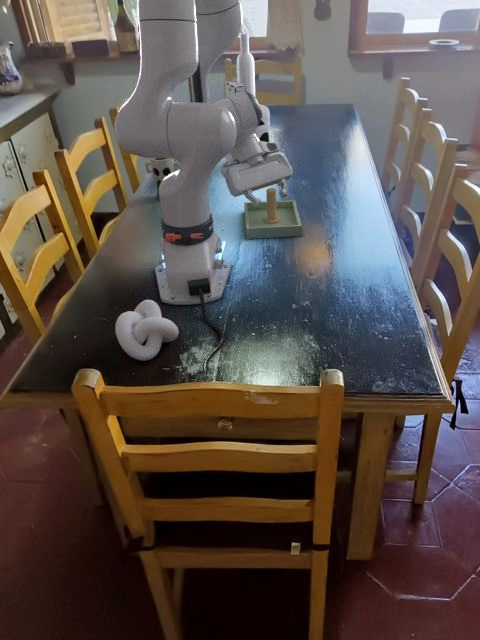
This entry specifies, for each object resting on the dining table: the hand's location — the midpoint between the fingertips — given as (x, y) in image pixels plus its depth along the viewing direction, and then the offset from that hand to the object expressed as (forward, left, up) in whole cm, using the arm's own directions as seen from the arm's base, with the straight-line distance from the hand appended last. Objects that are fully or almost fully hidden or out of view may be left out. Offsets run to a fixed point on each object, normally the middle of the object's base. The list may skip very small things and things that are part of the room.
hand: (271, 200), depth 145 cm
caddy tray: (0, 0, -7) cm, 7 cm away
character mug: (+23, +32, -7) cm, 40 cm away
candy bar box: (+95, +8, -7) cm, 95 cm away
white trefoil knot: (-53, +29, -7) cm, 61 cm away
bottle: (+121, +2, -7) cm, 121 cm away
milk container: (+50, +5, -7) cm, 51 cm away
